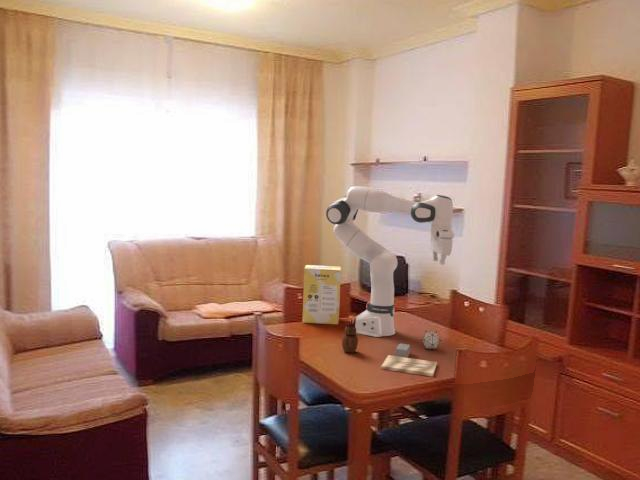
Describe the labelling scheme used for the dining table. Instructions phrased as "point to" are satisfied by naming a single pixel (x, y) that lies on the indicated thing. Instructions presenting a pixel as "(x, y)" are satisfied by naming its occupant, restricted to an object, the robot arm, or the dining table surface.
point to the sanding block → (403, 350)
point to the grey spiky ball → (431, 340)
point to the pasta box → (321, 294)
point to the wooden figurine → (350, 338)
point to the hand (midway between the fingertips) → (438, 262)
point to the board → (409, 365)
